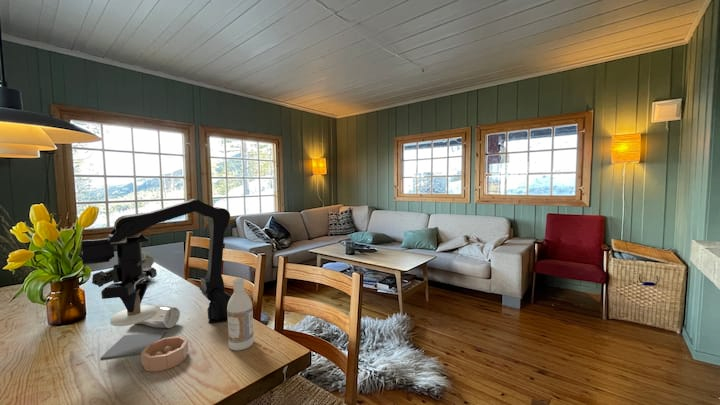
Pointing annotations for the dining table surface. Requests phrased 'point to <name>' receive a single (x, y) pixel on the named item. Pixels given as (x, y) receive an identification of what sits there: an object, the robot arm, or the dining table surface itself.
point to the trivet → (132, 344)
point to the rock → (147, 261)
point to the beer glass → (163, 317)
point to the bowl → (164, 354)
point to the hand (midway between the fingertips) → (134, 309)
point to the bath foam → (240, 318)
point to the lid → (133, 315)
